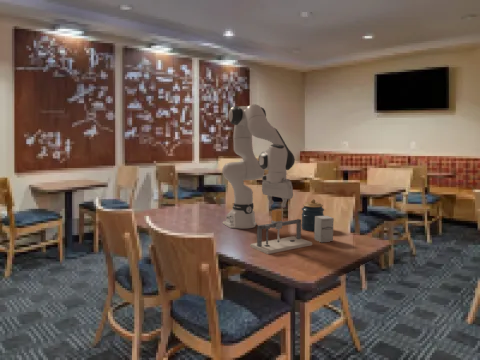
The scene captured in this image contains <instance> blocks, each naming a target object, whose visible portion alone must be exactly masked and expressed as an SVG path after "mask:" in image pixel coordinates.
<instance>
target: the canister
mask: <svg viewBox="0 0 480 360" xmlns="http://www.w3.org/2000/svg"><path fill="white" fill-rule="evenodd" d="M301 210H302V212H301V230H303V231H308V232H315V216H325V214H324V211H325V208H323V203H321V202H317V201H316V200H315V199H313V198H312V199H311V200H310V201H307V202H305V203H303V207H302V208H301Z"/></svg>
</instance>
